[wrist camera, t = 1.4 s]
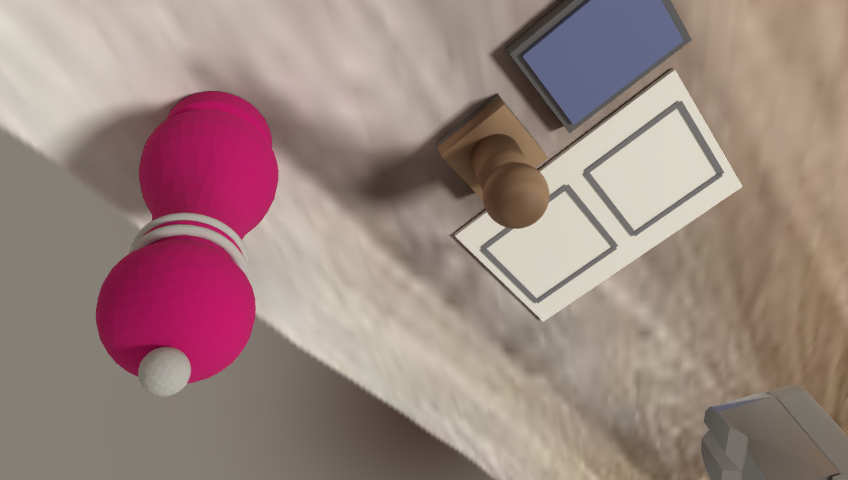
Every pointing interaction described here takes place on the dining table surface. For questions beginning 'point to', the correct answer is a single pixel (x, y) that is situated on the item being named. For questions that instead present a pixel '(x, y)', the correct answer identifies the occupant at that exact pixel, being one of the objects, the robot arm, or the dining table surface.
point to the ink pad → (595, 52)
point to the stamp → (499, 164)
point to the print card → (609, 199)
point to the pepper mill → (191, 245)
